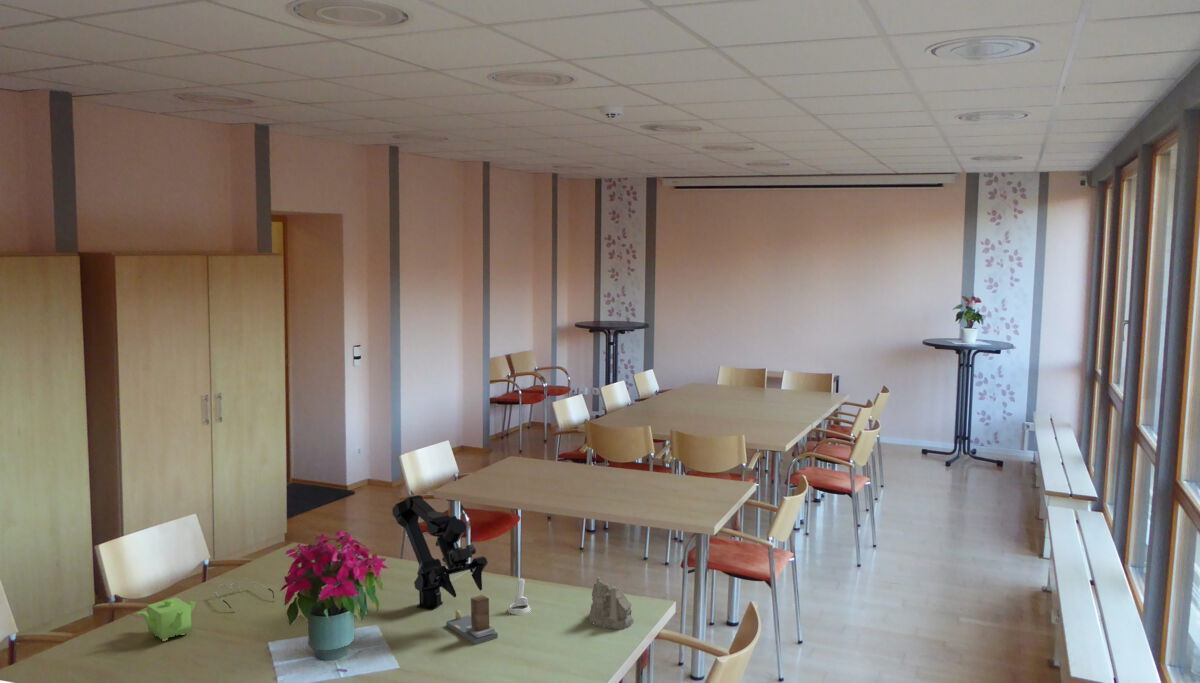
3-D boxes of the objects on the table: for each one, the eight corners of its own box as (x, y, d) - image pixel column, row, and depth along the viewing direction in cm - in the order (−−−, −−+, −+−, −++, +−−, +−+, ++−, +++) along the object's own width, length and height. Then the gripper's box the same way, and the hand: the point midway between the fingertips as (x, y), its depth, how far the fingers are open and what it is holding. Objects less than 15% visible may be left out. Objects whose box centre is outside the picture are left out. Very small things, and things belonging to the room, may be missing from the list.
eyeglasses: (256, 588, 328) (255, 575, 327) (278, 602, 314) (277, 588, 314) (210, 600, 317) (209, 586, 317) (231, 615, 303) (230, 600, 303)
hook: (530, 585, 313) (535, 580, 307) (527, 621, 307) (532, 616, 301) (509, 582, 311) (513, 577, 305) (505, 618, 305) (509, 613, 299)
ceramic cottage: (620, 631, 286) (620, 584, 286) (579, 621, 296) (579, 575, 296) (648, 619, 298) (648, 573, 298) (607, 609, 308) (607, 565, 308)
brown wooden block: (466, 630, 284) (465, 597, 283) (483, 625, 287) (482, 592, 286) (477, 637, 278) (477, 603, 277) (494, 632, 282) (494, 599, 281)
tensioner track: (446, 625, 292) (445, 613, 292) (468, 619, 297) (467, 607, 297) (474, 644, 278) (474, 631, 277) (497, 637, 283) (497, 625, 282)
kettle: (184, 644, 280) (182, 608, 279) (136, 646, 279) (134, 610, 278) (202, 624, 295) (200, 590, 294) (156, 626, 294) (154, 592, 293)
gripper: (432, 543, 284) (450, 587, 277) (484, 531, 296) (503, 573, 288) (421, 561, 291) (438, 605, 284) (472, 549, 303) (490, 591, 295)
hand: (468, 593), depth 287 cm, fingers open, 9 cm apart
